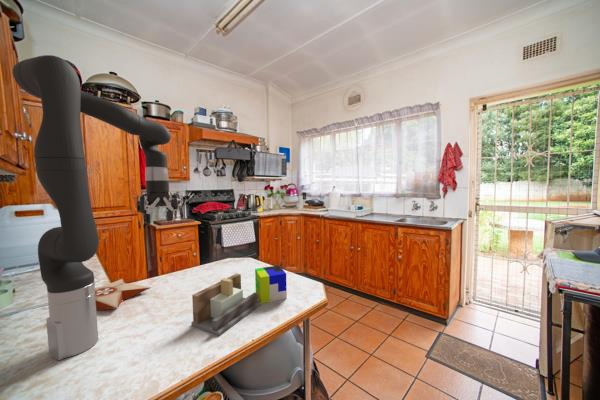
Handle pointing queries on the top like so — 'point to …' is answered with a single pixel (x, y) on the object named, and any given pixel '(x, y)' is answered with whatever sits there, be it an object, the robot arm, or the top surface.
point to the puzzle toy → (270, 284)
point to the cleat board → (227, 318)
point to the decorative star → (116, 294)
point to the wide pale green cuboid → (225, 298)
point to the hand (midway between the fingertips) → (159, 222)
